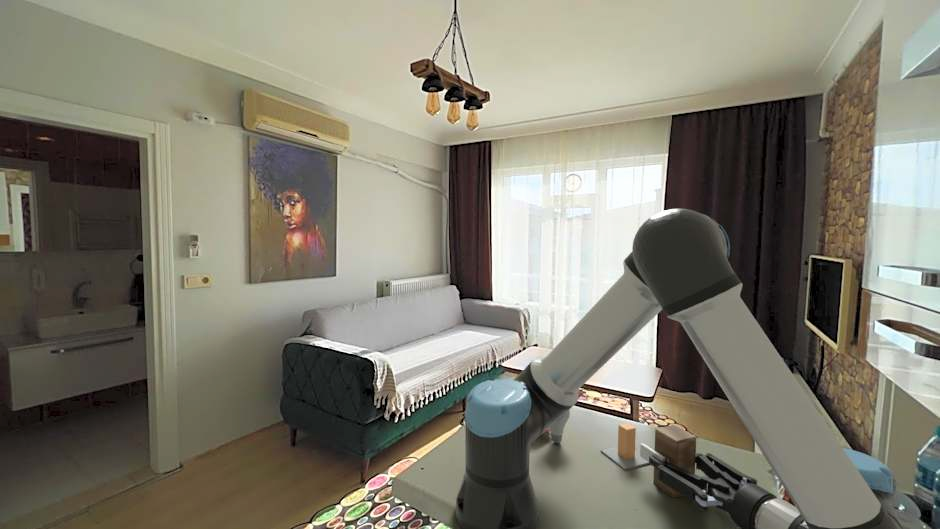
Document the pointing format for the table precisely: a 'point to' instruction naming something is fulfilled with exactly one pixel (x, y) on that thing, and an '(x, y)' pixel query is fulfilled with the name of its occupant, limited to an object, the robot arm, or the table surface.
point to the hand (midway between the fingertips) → (654, 446)
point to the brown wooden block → (675, 452)
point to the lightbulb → (559, 428)
